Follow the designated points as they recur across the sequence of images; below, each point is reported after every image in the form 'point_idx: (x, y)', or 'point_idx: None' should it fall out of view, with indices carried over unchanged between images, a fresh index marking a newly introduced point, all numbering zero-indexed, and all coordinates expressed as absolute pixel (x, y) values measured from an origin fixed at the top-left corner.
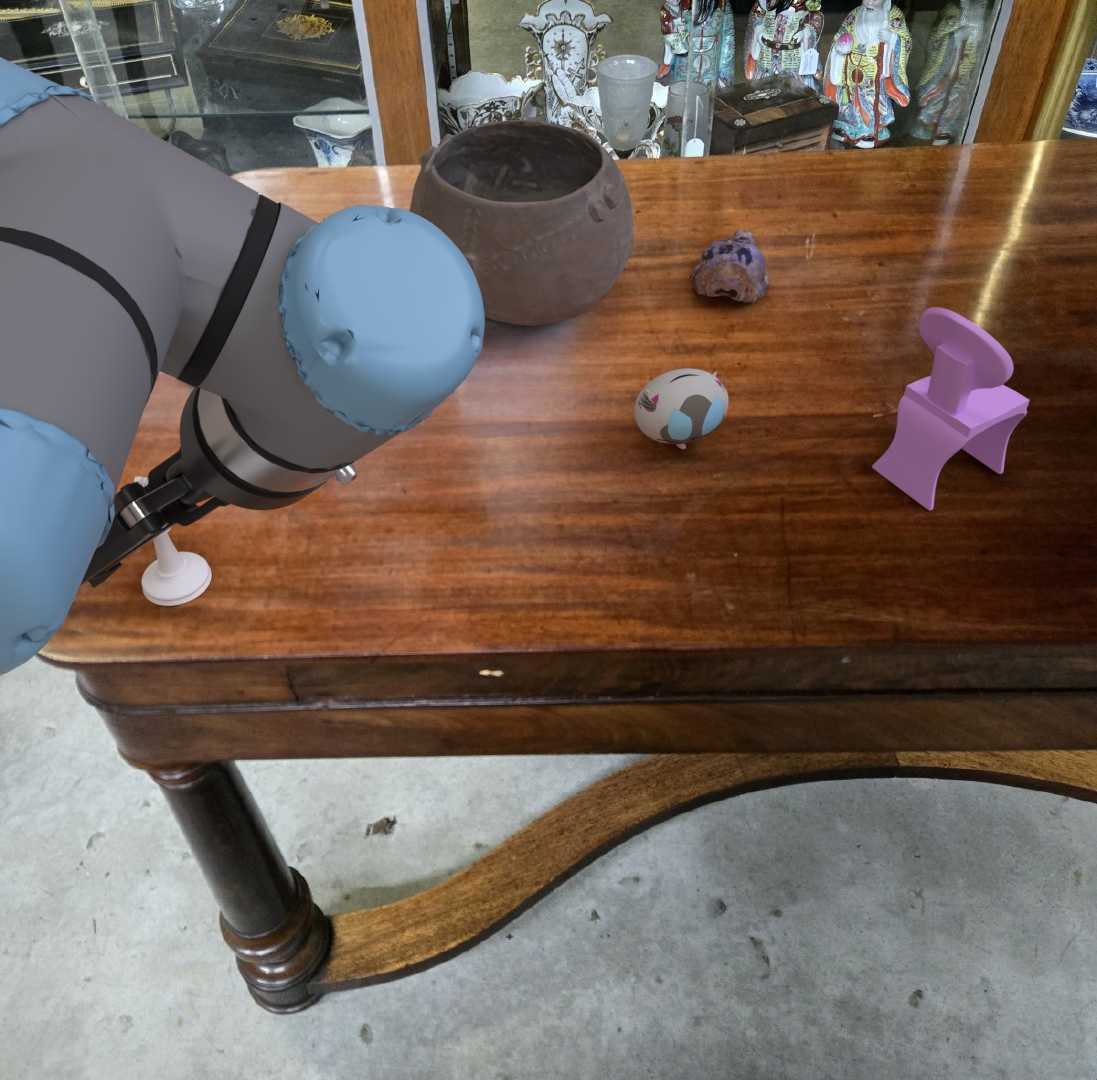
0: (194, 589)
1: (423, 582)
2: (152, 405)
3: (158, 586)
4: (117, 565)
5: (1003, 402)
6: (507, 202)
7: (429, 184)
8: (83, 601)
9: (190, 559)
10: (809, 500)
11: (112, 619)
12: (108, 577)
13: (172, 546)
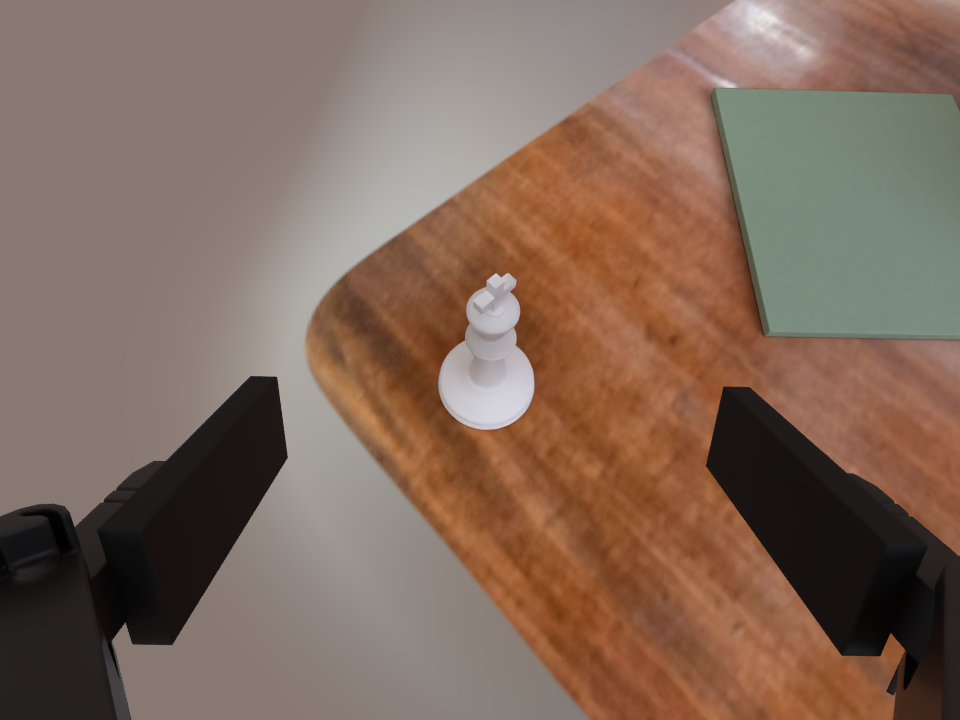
0: (488, 423)
1: (768, 697)
2: (649, 103)
3: (454, 384)
4: (160, 639)
5: None
6: None
7: None
8: (382, 320)
9: (517, 374)
10: None
11: (386, 375)
12: (265, 492)
13: (497, 365)
